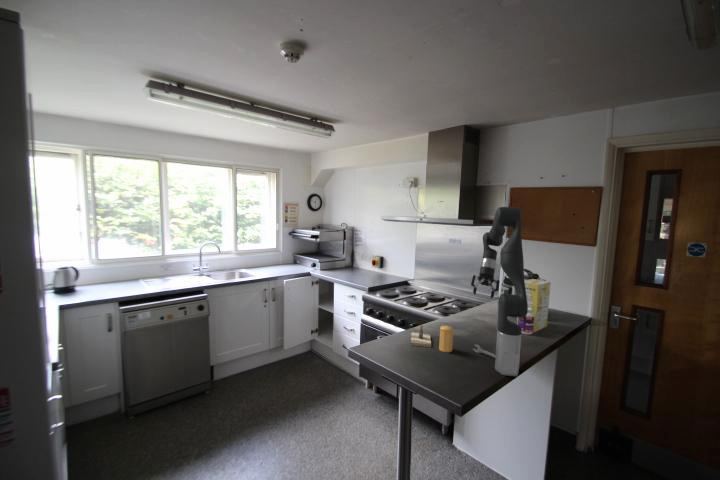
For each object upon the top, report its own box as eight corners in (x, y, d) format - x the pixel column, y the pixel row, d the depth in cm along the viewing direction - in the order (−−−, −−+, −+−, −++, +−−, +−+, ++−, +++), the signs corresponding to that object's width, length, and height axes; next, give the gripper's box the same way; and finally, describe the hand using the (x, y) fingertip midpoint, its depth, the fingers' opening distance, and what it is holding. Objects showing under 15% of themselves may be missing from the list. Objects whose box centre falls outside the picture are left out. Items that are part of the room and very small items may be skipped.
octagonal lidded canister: (452, 352, 151) (453, 330, 150) (439, 351, 152) (440, 329, 152) (451, 347, 157) (452, 326, 156) (438, 346, 158) (440, 325, 157)
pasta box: (529, 321, 204) (532, 278, 202) (546, 326, 196) (550, 281, 194) (516, 326, 192) (519, 281, 190) (534, 332, 184) (538, 285, 182)
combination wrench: (515, 359, 140) (474, 343, 155) (513, 360, 139) (473, 343, 154) (514, 367, 140) (473, 350, 155) (513, 368, 139) (472, 351, 155)
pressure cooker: (503, 305, 241) (506, 264, 238) (546, 312, 225) (549, 269, 223) (495, 314, 216) (498, 269, 214) (542, 323, 200) (546, 274, 198)
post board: (430, 347, 157) (431, 330, 156) (410, 345, 159) (411, 328, 158) (429, 336, 171) (430, 321, 170) (411, 335, 172) (411, 320, 172)
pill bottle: (525, 335, 177) (527, 310, 176) (514, 330, 185) (515, 306, 184) (536, 334, 180) (538, 309, 179) (524, 329, 188) (525, 305, 187)
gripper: (475, 263, 173) (469, 292, 170) (502, 269, 169) (498, 299, 166) (473, 266, 180) (468, 293, 177) (500, 271, 176) (495, 299, 173)
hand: (483, 296), depth 172 cm, fingers open, 8 cm apart
